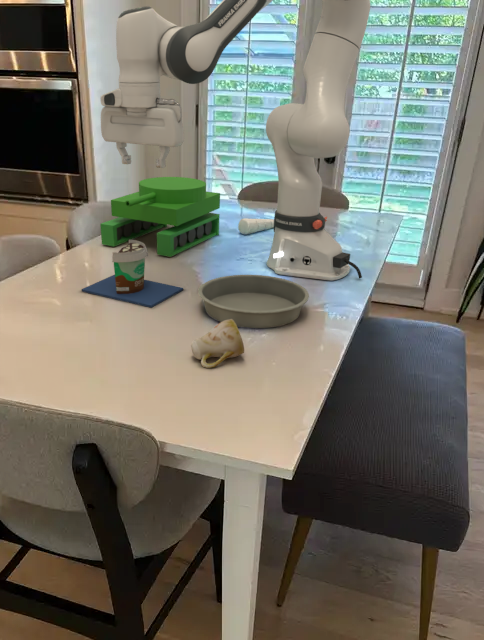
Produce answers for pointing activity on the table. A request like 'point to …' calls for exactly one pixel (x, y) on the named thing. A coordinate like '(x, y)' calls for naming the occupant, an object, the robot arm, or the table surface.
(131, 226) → the tank
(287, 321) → the cake pan
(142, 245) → the food container
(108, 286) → the mat
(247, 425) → the table surface
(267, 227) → the unicorn horn
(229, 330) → the mug
